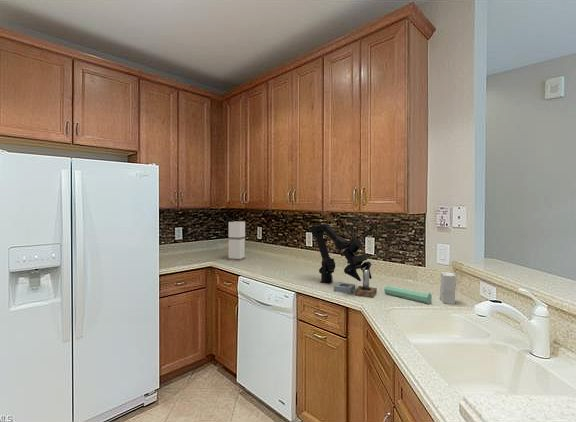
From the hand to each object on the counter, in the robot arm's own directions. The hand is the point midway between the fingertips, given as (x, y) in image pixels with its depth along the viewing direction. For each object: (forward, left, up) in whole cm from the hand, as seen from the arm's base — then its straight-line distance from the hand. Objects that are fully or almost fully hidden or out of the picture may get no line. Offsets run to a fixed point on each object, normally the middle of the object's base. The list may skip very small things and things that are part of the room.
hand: (365, 279), depth 170 cm
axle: (0, 0, -8) cm, 8 cm away
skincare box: (+41, +8, -9) cm, 43 cm away
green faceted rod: (+21, +4, -9) cm, 23 cm away
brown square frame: (0, 0, -8) cm, 8 cm away
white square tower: (-130, +50, -8) cm, 140 cm away
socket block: (-13, +2, -8) cm, 15 cm away
